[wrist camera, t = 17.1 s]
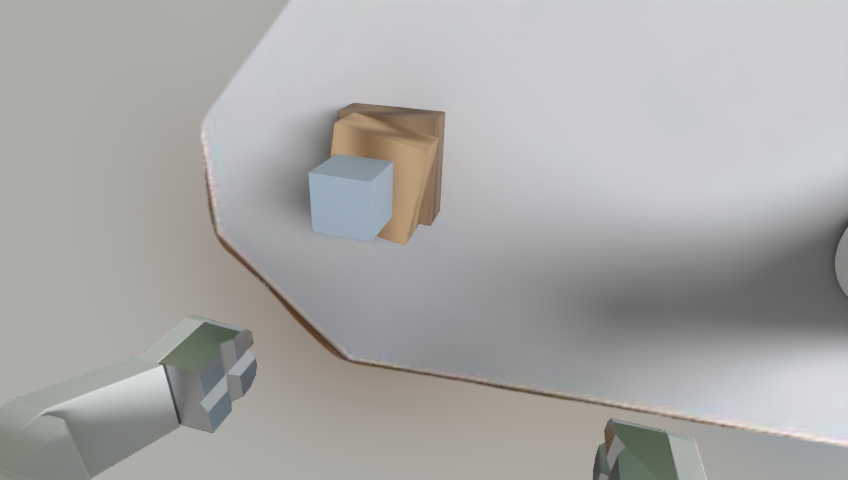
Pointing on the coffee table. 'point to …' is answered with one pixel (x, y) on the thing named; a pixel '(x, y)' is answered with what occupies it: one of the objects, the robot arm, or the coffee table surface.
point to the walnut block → (418, 122)
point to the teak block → (409, 165)
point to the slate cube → (351, 196)
